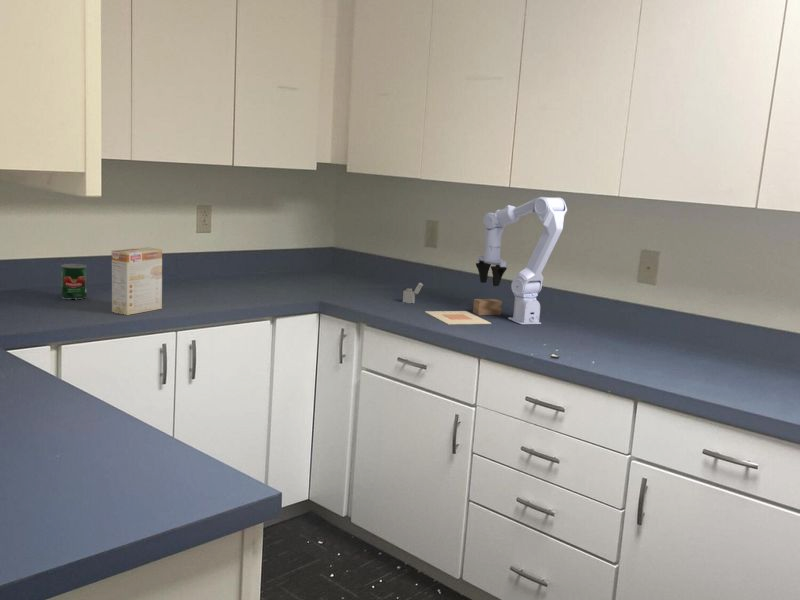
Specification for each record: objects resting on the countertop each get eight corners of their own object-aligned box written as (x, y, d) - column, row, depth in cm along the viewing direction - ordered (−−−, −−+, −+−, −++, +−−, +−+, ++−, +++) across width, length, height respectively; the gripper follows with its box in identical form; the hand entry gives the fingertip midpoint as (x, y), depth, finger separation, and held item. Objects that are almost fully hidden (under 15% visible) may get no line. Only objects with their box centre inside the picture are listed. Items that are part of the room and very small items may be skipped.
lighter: (402, 302, 299) (404, 281, 298) (404, 301, 301) (405, 280, 299) (420, 304, 296) (421, 283, 295) (421, 304, 298) (423, 282, 297)
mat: (491, 323, 270) (491, 322, 269) (447, 324, 264) (447, 323, 264) (465, 311, 288) (465, 310, 288) (424, 312, 282) (424, 311, 282)
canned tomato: (68, 301, 262) (68, 267, 260) (56, 297, 267) (56, 264, 265) (91, 298, 268) (91, 266, 266) (79, 295, 273) (79, 263, 271)
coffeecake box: (146, 305, 262) (147, 246, 259) (162, 309, 259) (163, 249, 256) (110, 312, 249) (110, 250, 246) (127, 315, 246) (127, 252, 243)
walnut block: (495, 312, 291) (496, 299, 290) (500, 315, 287) (502, 301, 286) (472, 312, 288) (473, 299, 287) (478, 315, 284) (479, 301, 283)
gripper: (514, 249, 282) (510, 287, 284) (489, 244, 294) (486, 280, 296) (497, 249, 278) (494, 287, 281) (473, 244, 291) (471, 281, 293)
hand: (489, 284), depth 288 cm, fingers open, 7 cm apart
